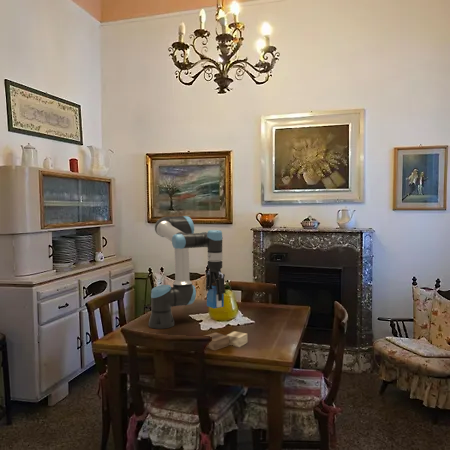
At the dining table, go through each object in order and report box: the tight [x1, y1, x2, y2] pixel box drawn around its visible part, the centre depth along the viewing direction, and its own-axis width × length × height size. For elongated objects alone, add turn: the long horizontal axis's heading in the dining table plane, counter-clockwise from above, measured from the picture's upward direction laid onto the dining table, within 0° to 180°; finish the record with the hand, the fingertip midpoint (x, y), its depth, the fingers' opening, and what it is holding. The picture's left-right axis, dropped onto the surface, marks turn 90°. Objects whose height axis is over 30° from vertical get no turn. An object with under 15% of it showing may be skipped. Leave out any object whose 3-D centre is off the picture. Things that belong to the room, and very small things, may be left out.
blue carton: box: [206, 282, 225, 309], centre depth 219 cm, size 6×6×12 cm
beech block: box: [225, 331, 248, 348], centre depth 224 cm, size 8×8×5 cm
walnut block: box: [204, 331, 230, 351], centre depth 221 cm, size 10×10×5 cm
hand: (215, 305), depth 220 cm, fingers closed on blue carton, 6 cm apart
